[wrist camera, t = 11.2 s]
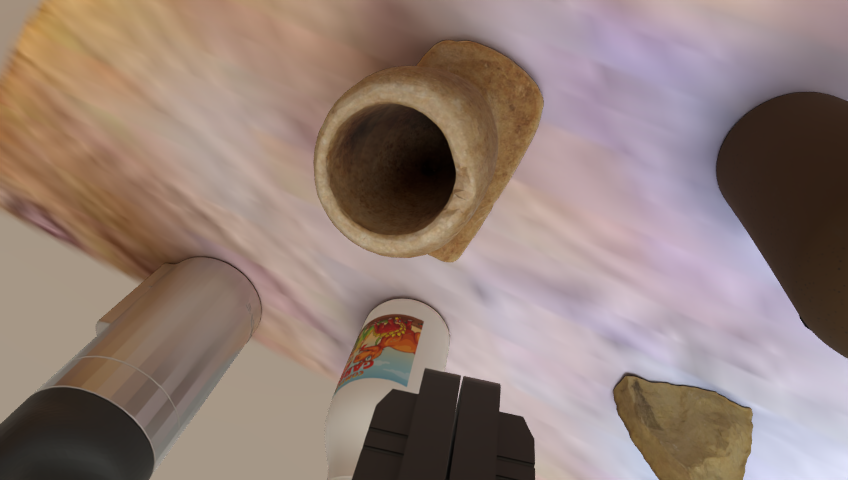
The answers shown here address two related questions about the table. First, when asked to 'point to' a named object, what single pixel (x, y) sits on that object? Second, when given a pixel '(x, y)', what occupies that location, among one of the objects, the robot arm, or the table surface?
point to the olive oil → (796, 201)
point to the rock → (685, 430)
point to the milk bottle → (381, 374)
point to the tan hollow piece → (425, 150)
